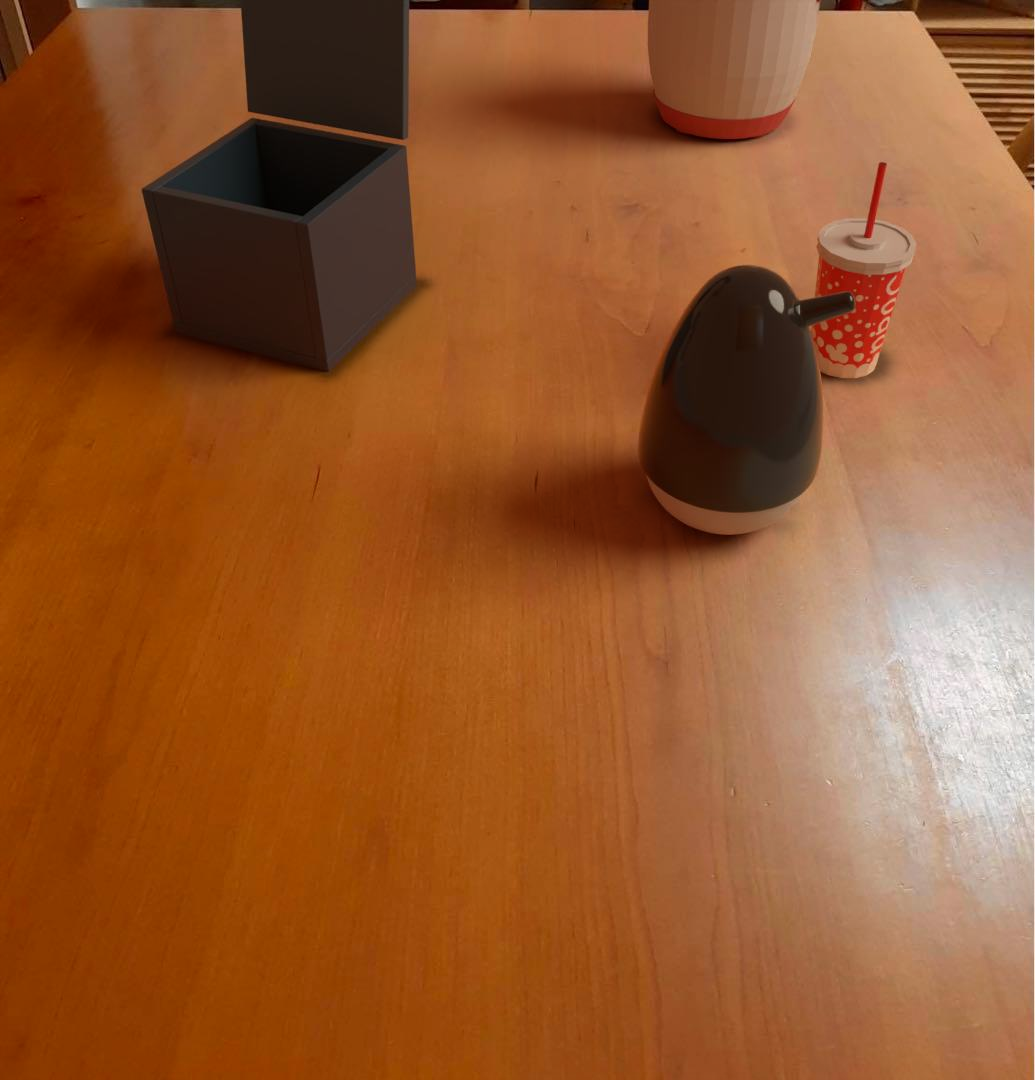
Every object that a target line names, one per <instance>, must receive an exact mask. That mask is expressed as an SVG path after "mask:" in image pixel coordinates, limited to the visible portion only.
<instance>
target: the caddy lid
mask: <svg viewBox="0 0 1035 1080" xmlns="http://www.w3.org/2000/svg"><path fill="white" fill-rule="evenodd" d="M240 12H241V27H242V29H241V30H242V43H243V57H244V58H243V60H244V73H245V74H244V76H245V85H246V86H245V87H246V105H247V112H248V113H251V114H257V115H263V116H269V117H273V118H280V119H286V120H291V121H297V122H302V123H307V124H312V125H313V124H314V125H318V126H325V127H328V128H335V129H338V130H339V129H340V130H346V131H352V132H357V133H362V134H368V135H373V136H379V137H384V138H389V139H395V140H401V141H404V140H407V139H408V138H409V104H410V103H409V100H410V99H409V95H410V93H409V92H410V90H409V89H410V83H409V82H410V79H409V78H410V0H240Z"/></svg>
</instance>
